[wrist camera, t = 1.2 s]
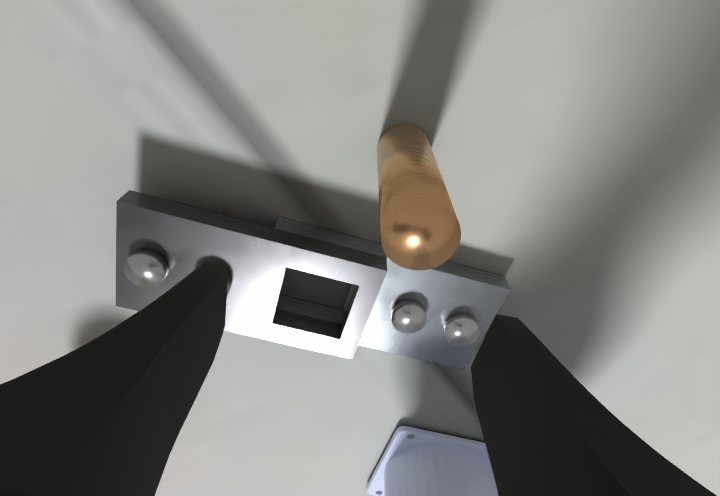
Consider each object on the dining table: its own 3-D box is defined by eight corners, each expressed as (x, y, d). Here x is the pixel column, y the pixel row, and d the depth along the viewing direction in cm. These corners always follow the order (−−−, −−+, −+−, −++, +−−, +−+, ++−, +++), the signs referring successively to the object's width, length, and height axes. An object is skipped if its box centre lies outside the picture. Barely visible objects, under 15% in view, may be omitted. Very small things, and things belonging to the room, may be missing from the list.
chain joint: (504, 276, 24) (521, 312, 21) (460, 354, 27) (470, 394, 24) (141, 180, 21) (109, 207, 19) (137, 278, 24) (109, 313, 22)
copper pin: (437, 132, 20) (474, 213, 13) (418, 181, 21) (442, 278, 14) (386, 117, 19) (395, 191, 13) (370, 166, 21) (370, 259, 14)
